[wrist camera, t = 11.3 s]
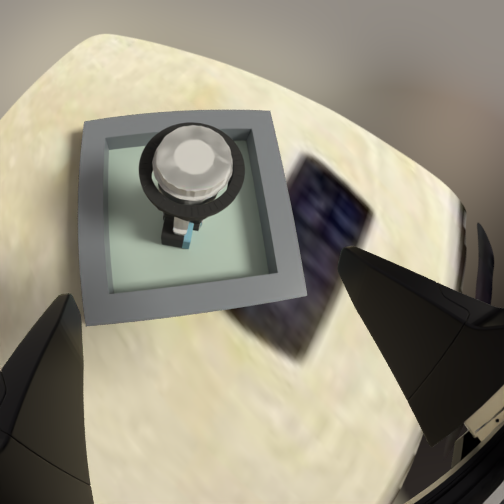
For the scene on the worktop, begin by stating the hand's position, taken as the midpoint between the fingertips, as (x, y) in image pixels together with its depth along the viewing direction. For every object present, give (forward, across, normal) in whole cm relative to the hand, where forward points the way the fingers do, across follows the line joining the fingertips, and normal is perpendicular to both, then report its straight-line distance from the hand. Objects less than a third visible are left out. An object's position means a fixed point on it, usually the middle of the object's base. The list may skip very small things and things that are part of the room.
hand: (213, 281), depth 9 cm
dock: (+15, 0, +5) cm, 16 cm away
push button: (+14, 0, +5) cm, 15 cm away
